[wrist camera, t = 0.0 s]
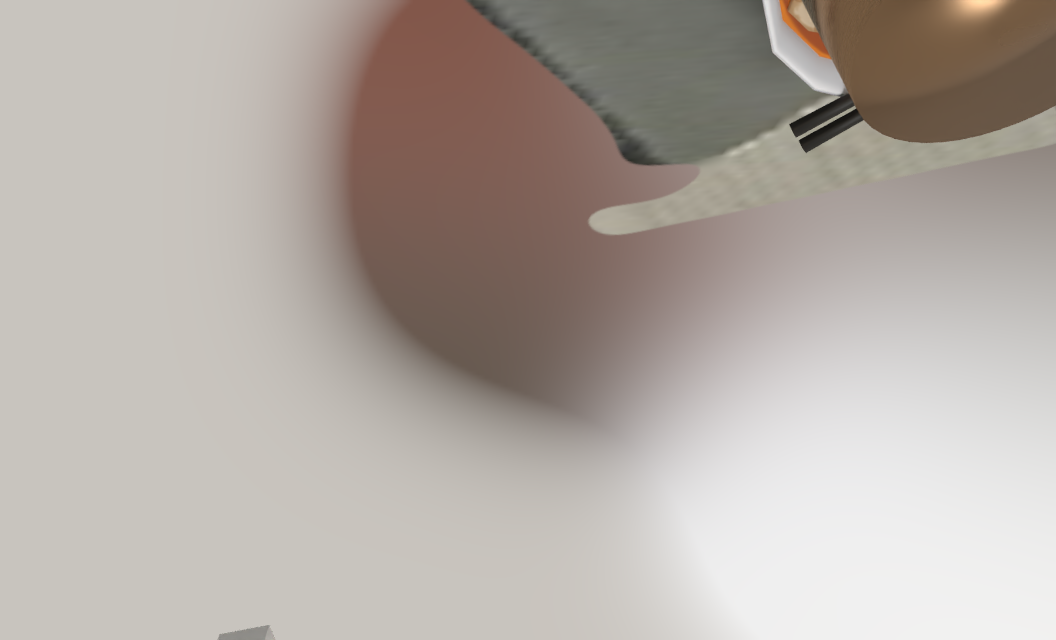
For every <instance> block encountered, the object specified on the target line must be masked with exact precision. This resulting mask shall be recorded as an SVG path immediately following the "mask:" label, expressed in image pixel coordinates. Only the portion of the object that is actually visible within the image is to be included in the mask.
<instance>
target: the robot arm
mask: <svg viewBox="0 0 1056 640" xmlns="http://www.w3.org/2000/svg"><path fill="white" fill-rule="evenodd" d="M218 640H275V638H274V635H273V633H272V631H271V628H270V626H269V625H267V626H262V627H256V628H251V629H246V630H241V631H235V632H230V633H225V634H220V635H219V638H218Z"/></svg>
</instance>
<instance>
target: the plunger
mask: <svg viewBox="0 0 1056 640" xmlns="http://www.w3.org/2000/svg"><path fill="white" fill-rule="evenodd" d="M802 2H803V4H804V6H805V8H806V10H807V12H808V14H809V16H810V18H811V20H812V22H813V24H814V26H815V28H816V30H817V31H818V33H819V35H820V37H821V39H822V41H823V43H824V45H825V47H826V49H827V51H828V53H829V55H830V57H831V59H832V61H833V63H834V65H835V67H836V69H837V71H838V73H839V75H840V77H841V79H842V81H843V83H844V85H845V87H846V89H847V91H848V93H849V95H850V97H851V99H852V101H853V103H854V105H855V107H856V109H857V110H858V112H859V113H860V115H861V117H862V118H863V120H865V121H866V122H867V123H868V124H869V125H870V126H871V127H872V128H873V129H875V130H877V131H878V132H880V133H882V134H883V135H886V136H889V137H892V138H894V139H898V140H903V141H908V142H920V143H934V142H947V141H954V140H961V139H966V138H970V137H975V136H980V135H983V134H986V133H990V132H993V131H996V130H1000V129H1002V128H1005V127H1008V126H1011V125H1013V124H1016V123H1019V122H1021V121H1023V120H1026V119H1028V118H1030V117H1033V116H1035V115H1037V114H1039V113H1042V112H1044V111H1046V110H1047V109H1049V108H1051V107H1053V106H1055V105H1056V0H802Z"/></svg>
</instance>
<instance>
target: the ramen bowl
mask: <svg viewBox="0 0 1056 640" xmlns="http://www.w3.org/2000/svg"><path fill="white" fill-rule="evenodd" d="M762 1H763V6H764V11H765V16H766V22H767V27H768V32H769V37H770V42H771V47H772V52H773V53H774V54H775V55H776V56H777V57H778V58H779V59H780V60H781V61H782V62H784V63H785V64H786V65H787V66H788V67H789V68H790V69H791V70H792V71H793V72H794V73H796V74H797V75H798V76H799V77H800V78H801V79H802V80H803V81H804V82H805V83H806V84H808V85H809V86H810V87H811V88H812V89H813V90H814V91H818V92H823V93H827V94H831V95H835V96H840V98H838V99H837V100H835V101H833V102H831V103H829V104H827V105H825V106H823V107H821V108H819V109H818V110H816V111H814V112H812V113H810V114H808V115H806V116H804V117H802V118H800V119H798V120H797V121H795V122H793V123H791V124H789V125H790V127H791V129H792V131H793V133H794V135H795V136H796V137H798V136H800V135H802V134H804V133H805V132H807V131H809V130H811V129H813V128H815V127H816V126H818V125H820V124H822V123H824V122H826V121H827V120H829V119H831V118H833V117H835V116H836V115H838V114H840V113H842V112H844V111H846V110H847V109H849V108H851V107H853V106H855V105H854V103H853V101H852V99H851V97H850V95H849V93H848V91H847V89H846V87H845V85H844V83H843V81H842V79H841V77H840V75H839V73H838V71H837V69H836V67H835V65H834V63H833V61H832V59H831V57H830V55H829V53H828V51H827V49H826V47H825V45H824V43H823V41H822V39H821V37H820V35H819V33H818V31H817V30H816V28H815V26H814V24H813V22H812V20H811V18H810V16H809V14H808V12H807V10H806V8H805V6H804V4H803V2H802V0H762ZM861 121H863V118H862V117H861V115H860V113H859V112H858V110H857V109H855V110H853V111H851V112H849V113H848V114H846V115H844V116H842V117H840V118H839V119H837V120H835V121H833V122H831V123H829V124H828V125H826V126H824V127H822V128H820V129H818V130H817V131H815V132H813V133H811V134H809V135H808V136H806V137H804V138H802V139H800V140H799V142H800V144H801V146H802V148H803V150H804V151H805V152H806V153H807V152H808V151H810V150H812V149H814V148H815V147H817V146H819V145H821V144H822V143H824V142H826V141H828V140H829V139H831V138H833V137H835V136H836V135H838V134H840V133H842V132H843V131H845V130H847V129H849V128H850V127H852V126H854V125H856V124H857V123H859V122H861Z"/></svg>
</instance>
